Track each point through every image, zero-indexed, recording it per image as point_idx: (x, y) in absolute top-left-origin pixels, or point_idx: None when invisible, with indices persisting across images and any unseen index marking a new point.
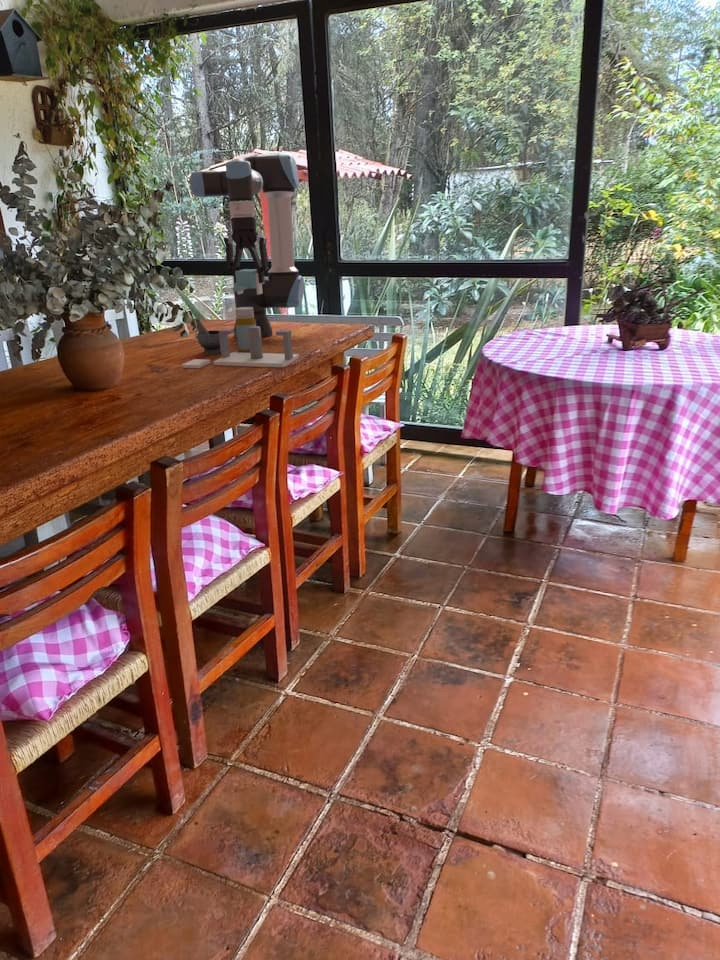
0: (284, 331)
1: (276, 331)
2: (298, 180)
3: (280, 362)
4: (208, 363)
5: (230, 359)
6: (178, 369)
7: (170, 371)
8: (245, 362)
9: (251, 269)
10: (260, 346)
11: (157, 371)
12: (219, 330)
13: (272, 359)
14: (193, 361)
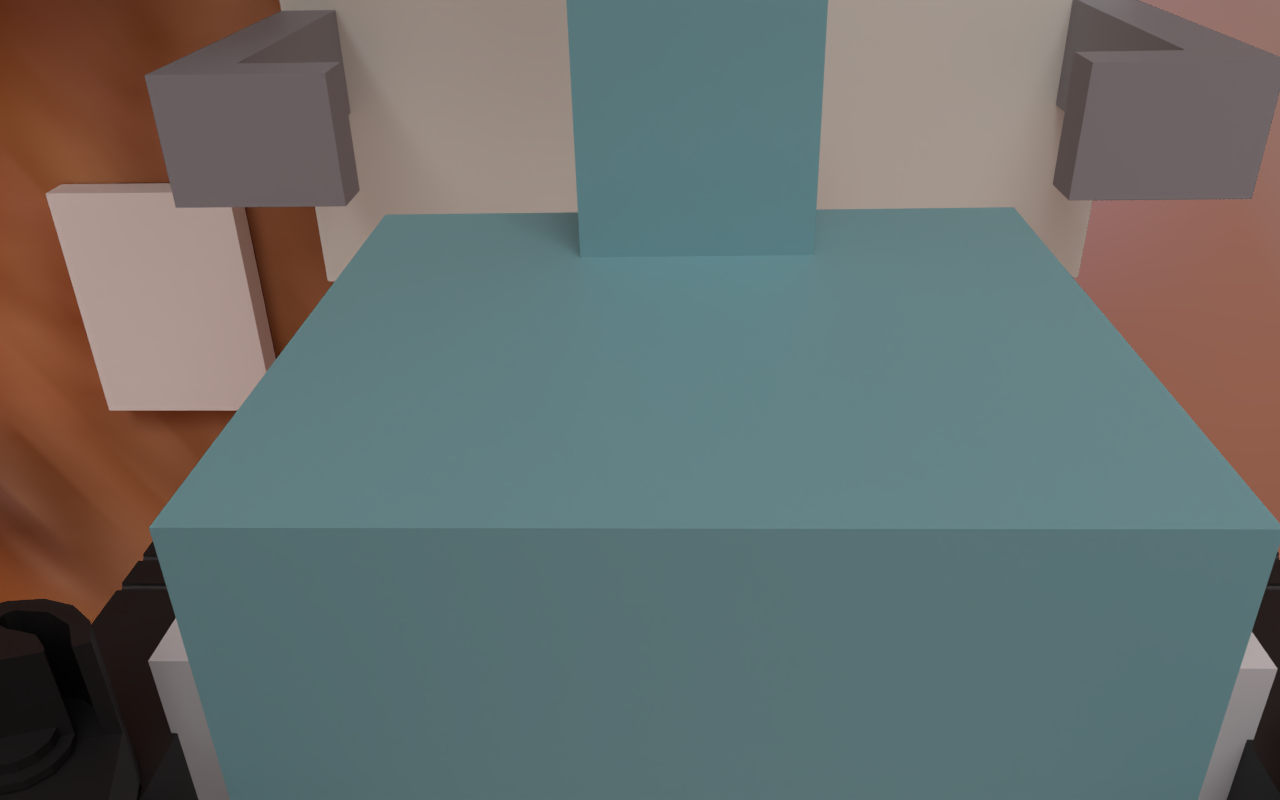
0: (1199, 170)
1: (1074, 183)
2: None
3: (1038, 232)
4: (247, 229)
5: (447, 180)
6: (135, 450)
7: (124, 514)
8: None
9: (745, 651)
10: None
11: (21, 527)
12: (187, 201)
13: (909, 114)
14: (117, 287)
